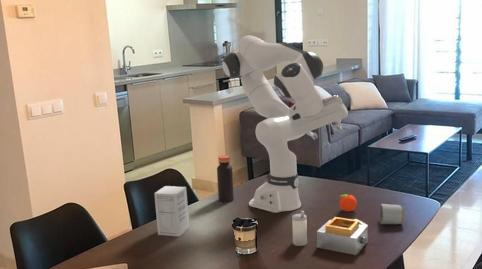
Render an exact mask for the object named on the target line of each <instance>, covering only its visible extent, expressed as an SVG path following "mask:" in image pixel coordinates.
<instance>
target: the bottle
mask: <svg viewBox="0 0 482 269" xmlns="http://www.w3.org/2000/svg"><path fill="white" fill-rule="evenodd" d="M230 158H231V157H230V155H219V156H218V164H219V165H218V166H217V168H216V176H217V177H216V178H217V191H218V192H217V194H218V195H217V196H218V201H219V202H221V203H229V202H232V201H234V199H235V198H234V197H235V196H234V194H235V193H234V178H233V167H232V165H231V164H230V163H231V162H230V161H231V160H230Z"/></svg>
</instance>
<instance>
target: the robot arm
mask: <svg viewBox="0 0 482 269" xmlns="http://www.w3.org/2000/svg"><path fill="white" fill-rule="evenodd" d="M285 62H291V63H288V64H286V65H285V66H284V67H283V68H282V69H281V70H279V71H278V72H277V73H276V74H275V75H274V77H273V85H274V86H275V88H276V90H277V91H278V93H279V95H280V96H281V97H282V98H287V99H292V98H293V100H294V102H295V103H294V104H293V105H292V106H290V107H289V106H288V105H287V104H286V103H285V102H283V100H282V99H281V98H280V97H279V96H278V94H277V93H276V91H275V90H274V88H273V86H272V85H271V84H270V82H269V81H268V79H267V78H266V76H265V74H264V72H266V71H268V70H271V69H273V68H275V67H276V66H278V65H280V64H281V65H282V63H285ZM221 64H222V69H223V72H224V74H225V75H226V76H227V77H228V78H230V79H231V80H233V79H239V78H240V81H241V85H242V88H243V90H244V93H245V95H246V97H247V98H248V100H249V101H250V103H251V105H252V108H254V110H255V112H256V113H257V114H258V115H259V116H262V117H264V118H266V119H264V120H262V121H260V122H258V123H257V125H256V127H255V137H256V139H257V141H258V142H259V143H260V144H261V145H263V146H264V147H265V149H266V151H267V153H268V157H269V166H270V167H269V168H270V169H269V170H270V172H269V173H268V174H267V173H266V174H267V175H265V178H264V179H265V180H266V181H265V182H263V184H262V185H260V186H259V187H258V188H256V190H255V192H254V196H253V198H252V199H250V201H249V202H248V206H249V207H252V208H257V209H258V210H263V211H267V212H271V213H274V214H275V213H281V212H290V211H295V210H299V209H300V208H301V206H302V202H301V200H300V195H299V189H298V187H299V176H298V172H297V169H298V168H297V167H298V166H297V155H296V154H295V153H294V152H293V151H291V150H290V149H289V147H288V142H290V141H294V140H298V139H300V138H301V137H303V136H305V135H307V136H308V137H309V136H310V137H311V138H312V139H313V140H318V134H317V132H313V131H314V130H316V129H319V128H322V127H325V126H328V125H330V124H333V123H335V122H336V124H335V128H336V129H337V131H342V130H343V127H342V125H341V123H342V121H341V120H344V119H347V117H348V115H349V113H348V112H349V111H348V108H347V107H346V105H345V104H344V102H343V101H344V100H343V99H342V97H341V96H339V95H331V96H330V97H326V98H324V99H323V97H322V96H321V94H320V91H318V89H317V88H316V87H315V83H314V80H317V79H318V78H320V77H321V76H322V74H323V71H324V62H323V61H322V59H321V58H320V56H318V55H317V54H316V53H314V52H312V51H307V50H302V49H300V48H297V47H295V46H292V45H290V44H287V43H283V42H276V43H275V42H274V43H273V42H272V43H271V42H266V41H265V40H263V39H261V38H259V37H257V36H254V35H249V34H248V35H244V36H243V37H242V38H240V40H239V41H238V43H237V50H235V51H233V52H230V53H228V54H226V55H225V56H224V57H223V58H222V61H221Z"/></svg>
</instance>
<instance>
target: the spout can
mask: <svg viewBox="0 0 482 269" xmlns="http://www.w3.org/2000/svg"><path fill="white" fill-rule="evenodd" d="M307 217H308V216H307V215H306V214H305V211H304V210H300V213H295V214H292V216H291V219H292V222H291V223H292V244H293V245H294V246H296V247H302V246H306V245H307V244H308V230H307V229H308V226H307V225H308V224H307V223H308V222H307V219H308V218H307Z"/></svg>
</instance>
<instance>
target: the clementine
mask: <svg viewBox="0 0 482 269" xmlns="http://www.w3.org/2000/svg"><path fill="white" fill-rule="evenodd" d="M339 197H340V199H339ZM339 197H337V199H339V206H340V208H341V210H342V211H344V212H352V211H354V210H355V209H356V208H357V204H358V201H357V198H355V196H354V195H352V194H340V195H339Z"/></svg>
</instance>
